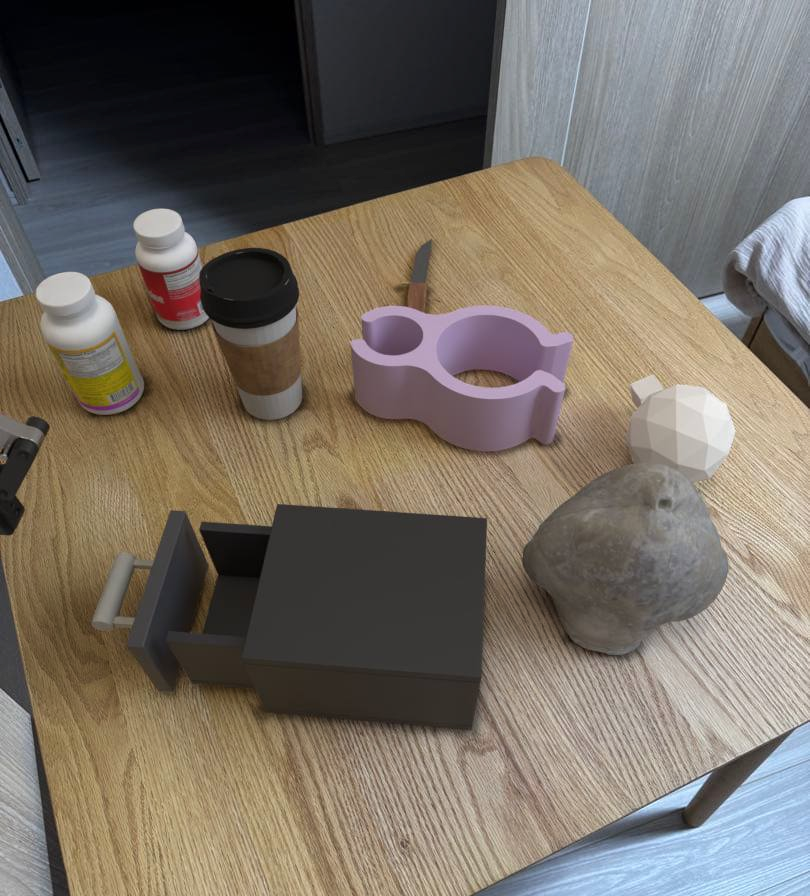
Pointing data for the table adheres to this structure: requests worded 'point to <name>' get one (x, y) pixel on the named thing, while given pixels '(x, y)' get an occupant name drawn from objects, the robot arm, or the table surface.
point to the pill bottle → (170, 268)
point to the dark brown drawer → (190, 603)
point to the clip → (454, 351)
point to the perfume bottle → (679, 428)
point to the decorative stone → (628, 557)
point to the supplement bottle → (88, 344)
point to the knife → (419, 279)
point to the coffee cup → (256, 327)
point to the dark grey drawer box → (370, 616)
